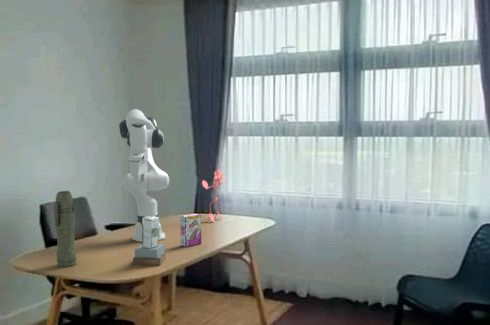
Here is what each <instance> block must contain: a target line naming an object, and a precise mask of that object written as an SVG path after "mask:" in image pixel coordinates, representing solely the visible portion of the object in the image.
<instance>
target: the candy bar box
mask: <svg viewBox="0 0 490 325" xmlns="http://www.w3.org/2000/svg"><path fill="white" fill-rule="evenodd" d="M179 220H180V222H179V224H180V226H179V227H180V246H181V247H185V248H188V247H192V246H197V245H201V244H202V214H199V213H192V214H185V215H180V219H179Z"/></svg>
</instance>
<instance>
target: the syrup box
mask: <svg viewBox="0 0 490 325" xmlns="http://www.w3.org/2000/svg"><path fill="white" fill-rule="evenodd" d="M159 223H160V217H156V216H147V217H144V218H142V242H141V245H142V247H145V248H150V249H151V248H154V247H157V246H158V244H159V240H158V238H159Z"/></svg>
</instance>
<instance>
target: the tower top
mask: <svg viewBox="0 0 490 325" xmlns="http://www.w3.org/2000/svg"><path fill="white" fill-rule="evenodd" d="M164 252H166V251H165V244H164V243H163V244H162V243H161V244H160V243H158V246H157V247H154V248H151V249H150V248H145V247H142V244H141V245H138V247H136V248H134V257H135V258H158V257H159V256H161V255H162V254H163V253H164Z"/></svg>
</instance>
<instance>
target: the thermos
mask: <svg viewBox="0 0 490 325" xmlns="http://www.w3.org/2000/svg"><path fill="white" fill-rule="evenodd" d="M75 206H76V205H75V201H74V200H73V195H72V193H71V191H70V190H65V191H64V190H61V191H58V192H57V193H56V196H55V203H54V206H53V213H54V225H55V231H56V242H57V245H56V246H57V247H56V248H57V250H56V262H57V267H58V268H70V267H74V266H75V267H76V265H77V259H78V258H77V249H76V246H75V245H76V244H75V242H76V240H75V239H76V238H75V229H76V222H75V221H76V209H75V208H76V207H75Z"/></svg>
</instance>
